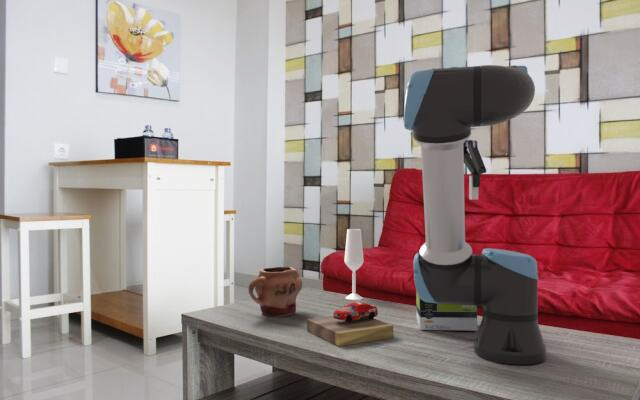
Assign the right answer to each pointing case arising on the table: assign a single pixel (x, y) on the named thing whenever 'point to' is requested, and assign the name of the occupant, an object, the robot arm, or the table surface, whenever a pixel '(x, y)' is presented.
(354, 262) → the champagne flute
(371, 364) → the table surface
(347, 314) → the race car
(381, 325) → the square wooden board
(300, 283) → the terracotta clay mug
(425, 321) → the tea box
